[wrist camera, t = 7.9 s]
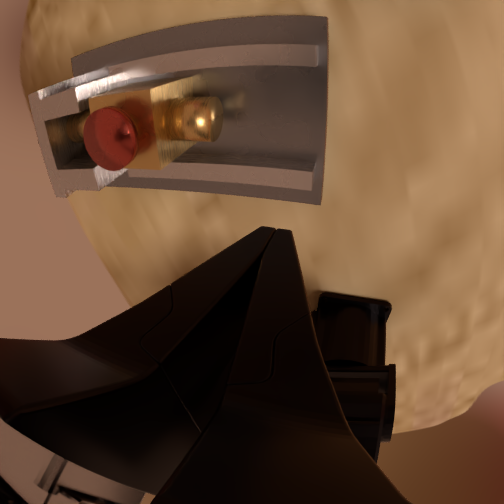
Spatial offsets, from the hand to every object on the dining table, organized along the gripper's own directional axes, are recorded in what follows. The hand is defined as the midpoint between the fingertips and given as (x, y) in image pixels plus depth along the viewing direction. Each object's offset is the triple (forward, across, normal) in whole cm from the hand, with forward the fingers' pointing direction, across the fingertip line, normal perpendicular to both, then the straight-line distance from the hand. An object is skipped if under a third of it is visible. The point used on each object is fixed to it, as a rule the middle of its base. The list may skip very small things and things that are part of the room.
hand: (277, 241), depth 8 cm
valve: (+11, +10, -1) cm, 15 cm away
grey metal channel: (+12, +9, -1) cm, 15 cm away
